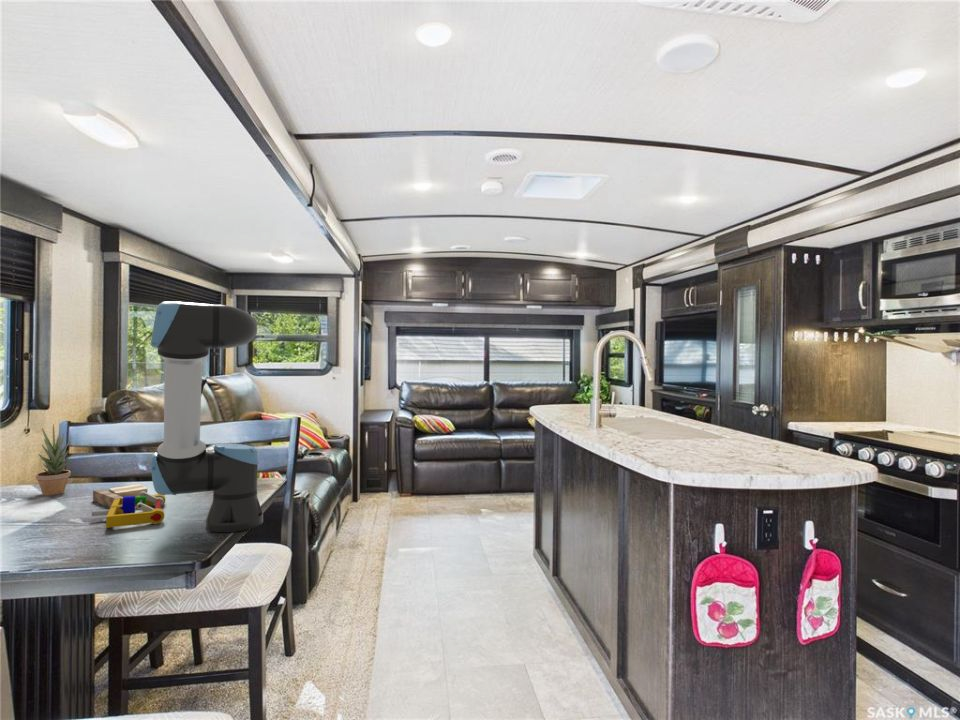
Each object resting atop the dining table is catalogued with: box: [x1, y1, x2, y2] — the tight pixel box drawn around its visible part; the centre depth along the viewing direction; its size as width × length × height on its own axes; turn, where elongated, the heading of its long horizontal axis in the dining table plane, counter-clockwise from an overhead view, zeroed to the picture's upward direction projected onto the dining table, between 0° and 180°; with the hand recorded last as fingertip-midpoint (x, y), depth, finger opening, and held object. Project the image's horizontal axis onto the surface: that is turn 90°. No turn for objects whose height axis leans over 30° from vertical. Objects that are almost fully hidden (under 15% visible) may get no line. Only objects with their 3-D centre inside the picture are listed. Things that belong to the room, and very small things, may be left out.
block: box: [108, 483, 148, 497], centre depth 177 cm, size 9×9×4 cm
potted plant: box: [35, 423, 73, 496], centre depth 183 cm, size 10×10×25 cm
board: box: [92, 488, 123, 509], centre depth 170 cm, size 18×2×4 cm, turn 55°
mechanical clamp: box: [91, 491, 166, 528], centre depth 158 cm, size 18×6×30 cm
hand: (185, 428), depth 176 cm, fingers closed
